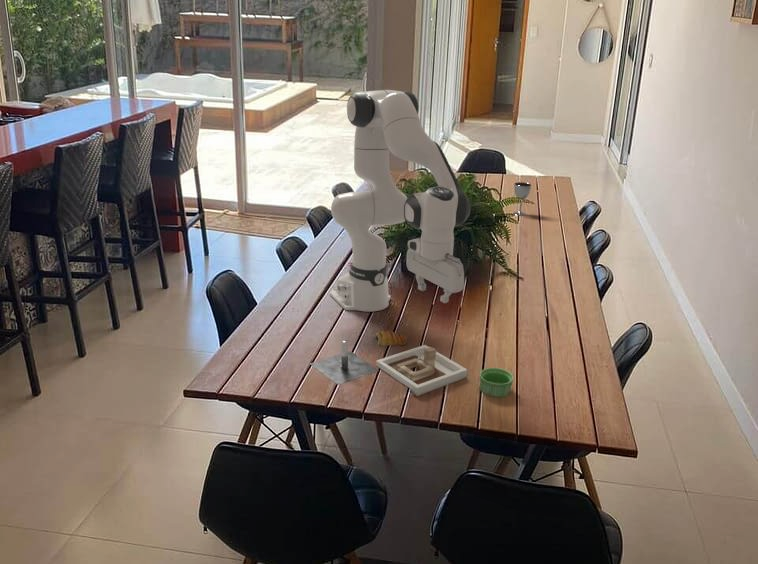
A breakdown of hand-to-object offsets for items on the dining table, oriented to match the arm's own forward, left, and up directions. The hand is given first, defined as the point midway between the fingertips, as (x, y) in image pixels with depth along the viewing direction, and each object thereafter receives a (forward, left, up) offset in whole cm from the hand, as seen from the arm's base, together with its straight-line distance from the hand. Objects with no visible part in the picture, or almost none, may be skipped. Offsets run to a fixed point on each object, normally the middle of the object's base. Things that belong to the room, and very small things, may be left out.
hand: (432, 295), depth 195 cm
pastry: (-17, -1, -22) cm, 28 cm away
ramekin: (+21, +6, -22) cm, 31 cm away
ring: (+3, -6, -21) cm, 22 cm away
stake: (-10, -22, -21) cm, 32 cm away
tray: (+3, -5, -21) cm, 22 cm away
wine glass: (-94, +141, -22) cm, 171 cm away
